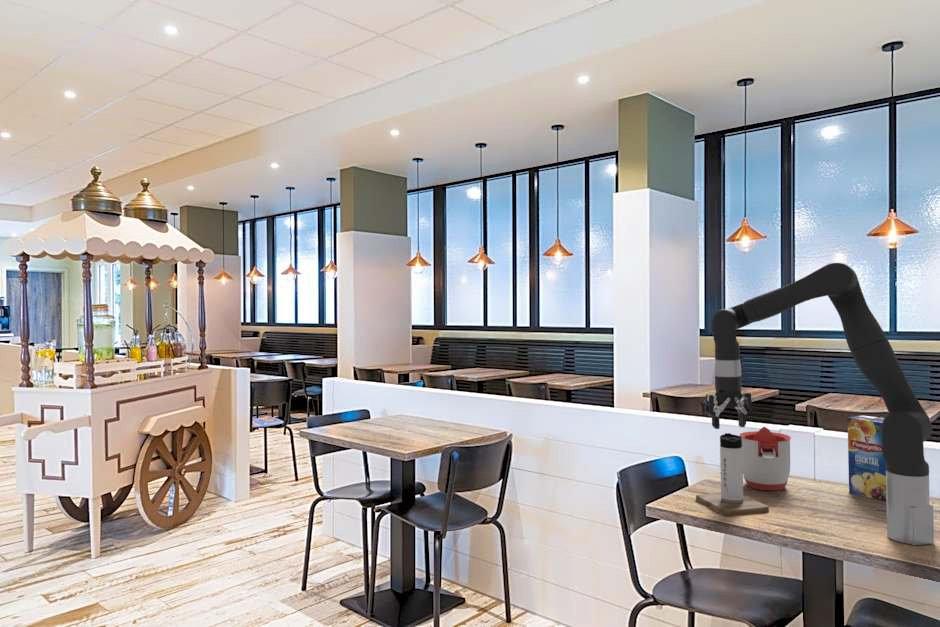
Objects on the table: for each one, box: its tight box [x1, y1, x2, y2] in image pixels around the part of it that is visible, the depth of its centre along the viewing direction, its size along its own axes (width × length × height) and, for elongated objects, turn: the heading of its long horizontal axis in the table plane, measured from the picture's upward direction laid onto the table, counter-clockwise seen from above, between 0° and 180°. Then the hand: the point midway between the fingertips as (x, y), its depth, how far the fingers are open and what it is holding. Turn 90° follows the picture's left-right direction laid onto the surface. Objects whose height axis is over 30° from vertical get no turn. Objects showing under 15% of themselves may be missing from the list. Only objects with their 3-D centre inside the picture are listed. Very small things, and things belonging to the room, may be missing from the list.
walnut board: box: [695, 492, 770, 517], centre depth 196 cm, size 16×14×2 cm
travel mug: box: [719, 432, 744, 504], centre depth 196 cm, size 6×7×20 cm
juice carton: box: [847, 414, 886, 503], centre depth 202 cm, size 12×8×24 cm, turn 26°
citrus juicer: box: [738, 426, 792, 491], centre depth 214 cm, size 16×17×20 cm
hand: (729, 427), depth 196 cm, fingers open, 8 cm apart
